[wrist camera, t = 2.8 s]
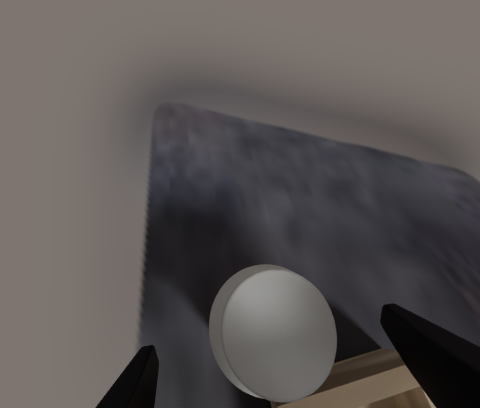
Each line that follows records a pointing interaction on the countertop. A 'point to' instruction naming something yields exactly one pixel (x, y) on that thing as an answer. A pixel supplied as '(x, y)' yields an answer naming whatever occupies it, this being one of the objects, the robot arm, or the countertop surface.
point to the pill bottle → (272, 333)
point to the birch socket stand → (366, 385)
